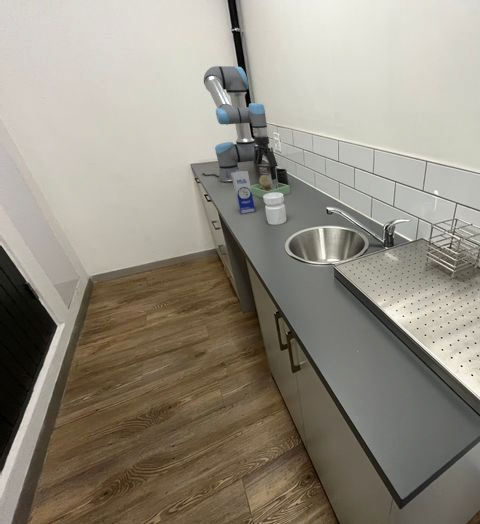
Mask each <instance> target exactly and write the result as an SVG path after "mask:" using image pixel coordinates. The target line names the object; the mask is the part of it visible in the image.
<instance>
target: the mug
mask: <svg viewBox="0 0 480 524" xmlns="http://www.w3.org/2000/svg"><path fill="white" fill-rule="evenodd" d="M276 172H277V179H278V183H281V184H285V185H289V179H288V171H287V169H286V168H276Z"/></svg>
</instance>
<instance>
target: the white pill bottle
mask: <svg viewBox="0 0 480 524" xmlns="http://www.w3.org/2000/svg"><path fill="white" fill-rule="evenodd" d="M284 197H285V195H283V194H282V193H268V194H265V195H264V196H263V198H262V199H263V203H264V204H265V206H264V209H265V216H266V220H267V224H269V225H272V226H277V225H283V224H284V223H286V222H287V212H286V205H285V204H284V202H285V200H284V199H285V198H284Z"/></svg>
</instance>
